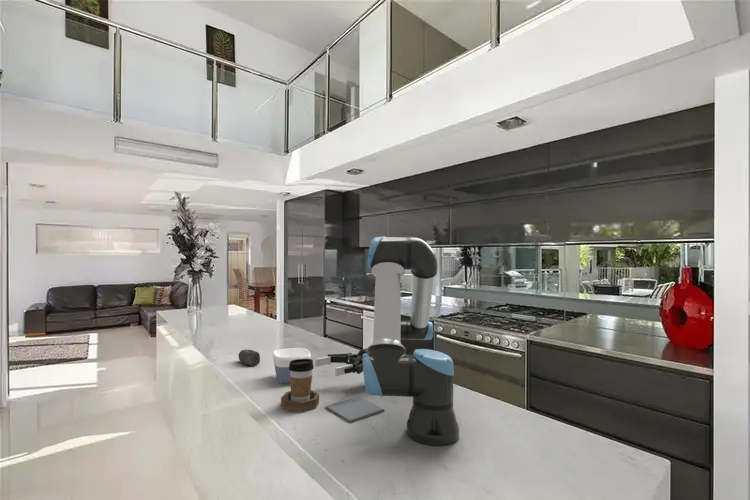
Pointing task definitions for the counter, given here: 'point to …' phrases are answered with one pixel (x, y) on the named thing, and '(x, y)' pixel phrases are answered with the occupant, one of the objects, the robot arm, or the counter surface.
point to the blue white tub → (287, 361)
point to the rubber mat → (354, 409)
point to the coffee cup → (300, 379)
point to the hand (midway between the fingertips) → (325, 367)
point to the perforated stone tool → (249, 357)
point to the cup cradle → (299, 402)
